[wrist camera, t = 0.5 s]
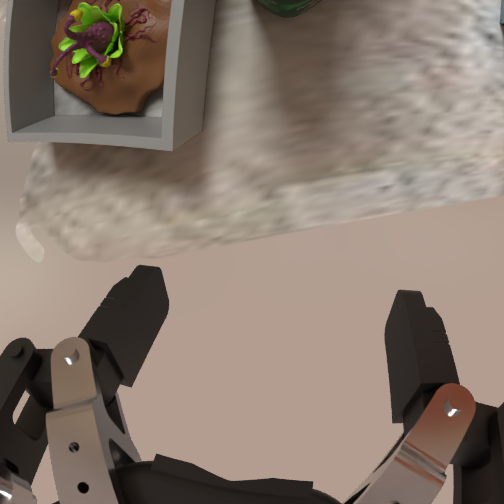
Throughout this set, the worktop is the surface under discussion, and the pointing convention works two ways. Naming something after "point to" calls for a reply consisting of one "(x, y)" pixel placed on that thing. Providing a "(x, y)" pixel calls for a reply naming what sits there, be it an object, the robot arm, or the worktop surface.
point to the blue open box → (502, 13)
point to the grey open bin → (104, 126)
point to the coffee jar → (287, 6)
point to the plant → (112, 52)
